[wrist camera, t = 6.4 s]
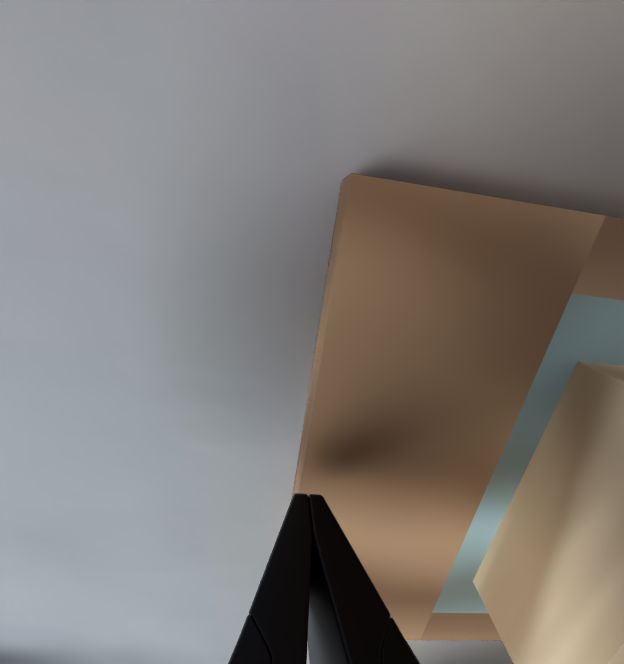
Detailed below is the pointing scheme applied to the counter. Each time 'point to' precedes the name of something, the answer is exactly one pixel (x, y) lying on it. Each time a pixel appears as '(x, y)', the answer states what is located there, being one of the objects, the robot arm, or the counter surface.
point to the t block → (565, 534)
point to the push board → (446, 377)
